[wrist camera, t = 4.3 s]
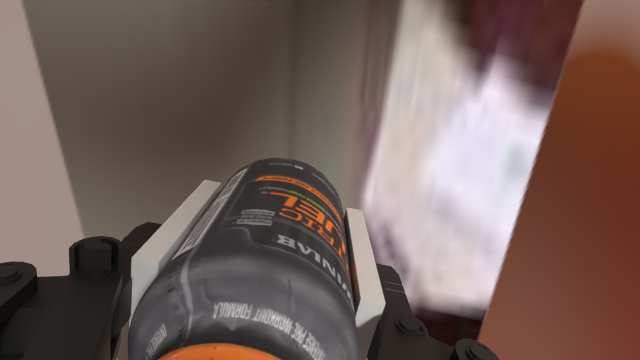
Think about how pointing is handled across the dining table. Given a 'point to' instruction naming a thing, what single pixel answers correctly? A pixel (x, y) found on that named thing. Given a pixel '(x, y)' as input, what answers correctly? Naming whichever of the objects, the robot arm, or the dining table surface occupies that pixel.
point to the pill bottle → (255, 276)
